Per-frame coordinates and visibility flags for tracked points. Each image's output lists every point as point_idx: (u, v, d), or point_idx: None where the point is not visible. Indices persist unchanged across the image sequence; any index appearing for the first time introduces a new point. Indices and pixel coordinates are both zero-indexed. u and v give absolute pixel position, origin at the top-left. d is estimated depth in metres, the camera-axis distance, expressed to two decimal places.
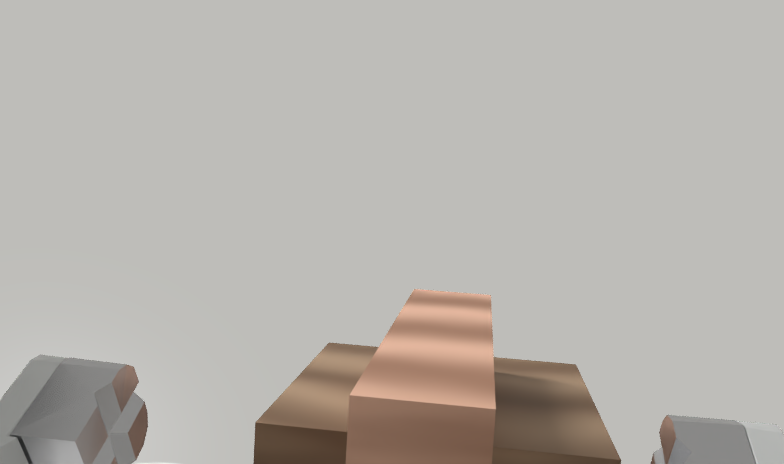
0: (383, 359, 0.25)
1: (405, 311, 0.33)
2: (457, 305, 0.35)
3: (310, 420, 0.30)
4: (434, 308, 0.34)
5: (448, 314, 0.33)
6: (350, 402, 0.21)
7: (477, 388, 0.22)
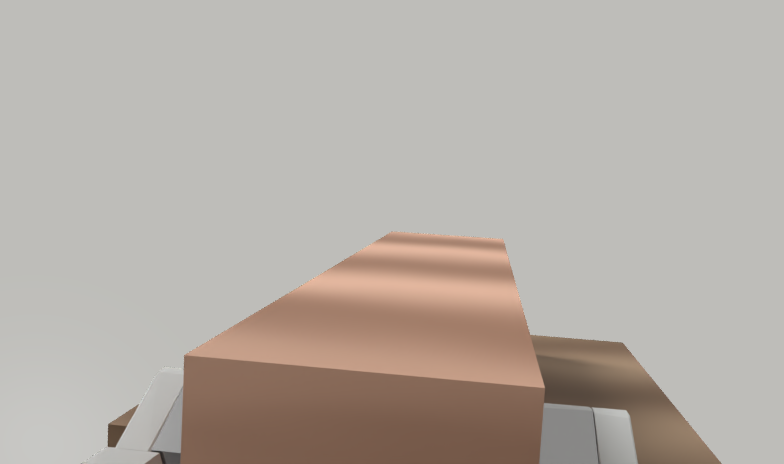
0: (305, 298, 0.12)
1: (371, 248, 0.21)
2: (454, 245, 0.23)
3: None
4: (418, 247, 0.22)
5: (439, 253, 0.21)
6: (186, 373, 0.08)
7: (495, 345, 0.10)
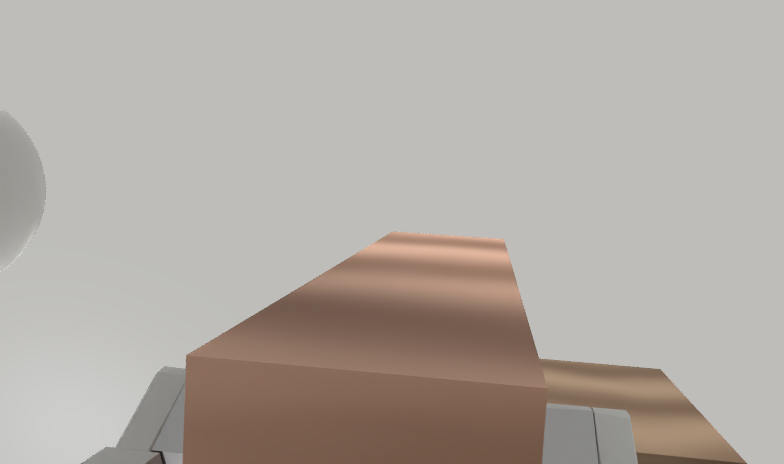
0: (306, 298, 0.12)
1: (372, 248, 0.21)
2: (455, 245, 0.23)
3: None
4: (419, 247, 0.22)
5: (440, 253, 0.21)
6: (189, 373, 0.08)
7: (497, 345, 0.10)
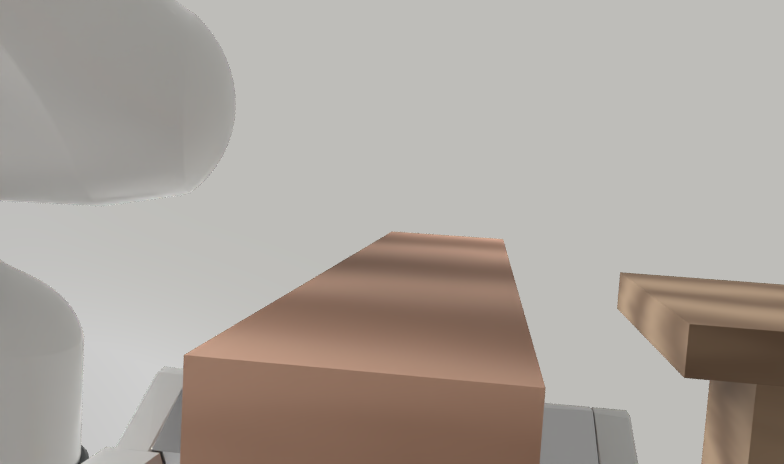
0: (304, 298, 0.12)
1: (371, 248, 0.21)
2: (454, 245, 0.23)
3: (739, 324, 0.28)
4: (418, 247, 0.22)
5: (439, 253, 0.21)
6: (186, 373, 0.08)
7: (495, 344, 0.10)
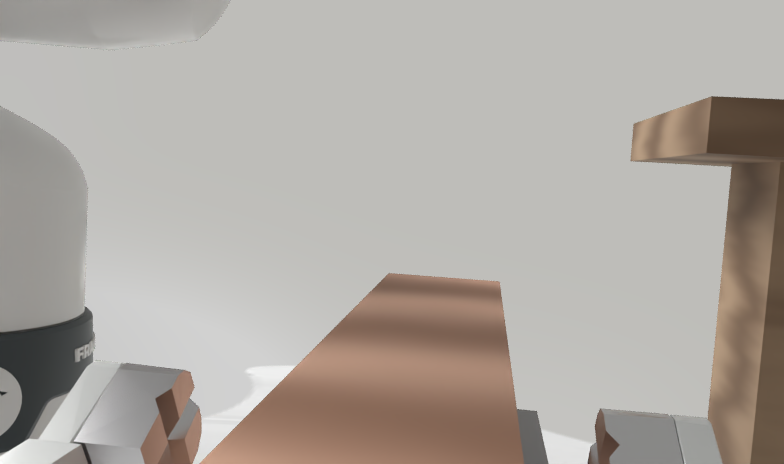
0: (297, 389, 0.12)
1: (367, 302, 0.21)
2: (450, 294, 0.23)
3: None
4: (414, 298, 0.22)
5: (435, 307, 0.21)
6: None
7: (485, 459, 0.10)
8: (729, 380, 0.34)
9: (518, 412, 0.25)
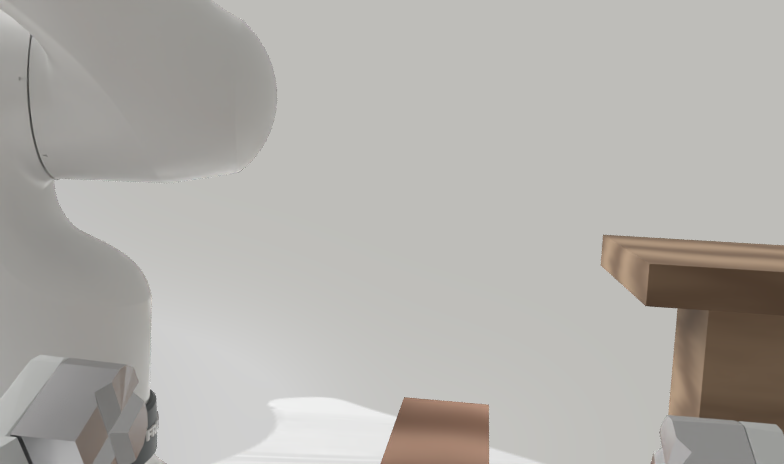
0: None
1: (391, 447, 0.29)
2: (450, 430, 0.32)
3: (689, 264, 0.35)
4: (424, 438, 0.30)
5: (440, 451, 0.29)
6: None
7: None
8: None
9: None
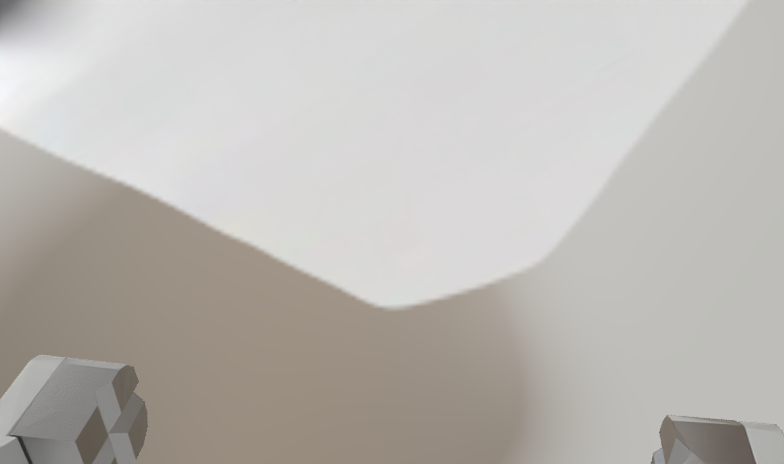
0: None
1: None
2: None
3: None
4: None
5: None
6: None
7: None
8: None
9: None
